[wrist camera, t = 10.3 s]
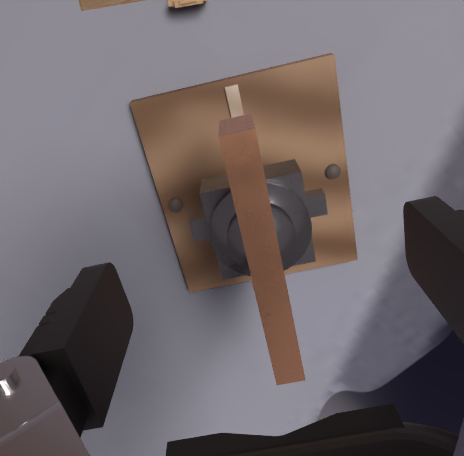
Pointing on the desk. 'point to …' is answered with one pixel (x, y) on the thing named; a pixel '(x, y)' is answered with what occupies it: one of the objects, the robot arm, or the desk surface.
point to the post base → (271, 149)
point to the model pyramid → (86, 3)
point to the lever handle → (260, 232)
